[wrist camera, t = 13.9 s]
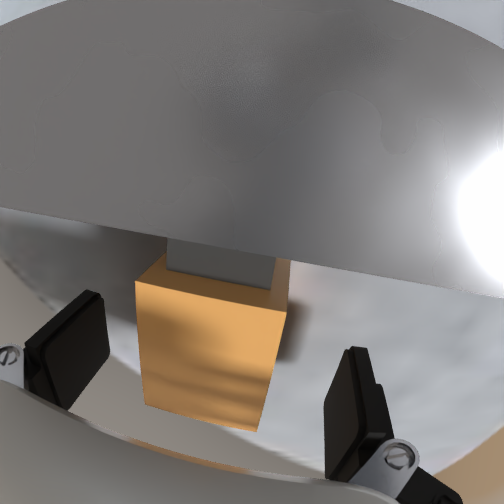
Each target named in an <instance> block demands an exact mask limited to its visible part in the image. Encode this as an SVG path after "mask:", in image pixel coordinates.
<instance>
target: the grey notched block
mask: <svg viewBox="0 0 504 504" xmlns="http://www.w3.org/2000/svg"><path fill="white" fill-rule="evenodd" d="M0 207H3V208H9V209H14V210H20V211H25V212H30V213H36V214H41V215H47V216H52V217H58V218H63V219H69V220H74V221H79V222H85V223H90V224H96V225H101V226H107V227H112V228H118V229H123V230H129V231H134V232H140V233H145V234H151V235H156V236H162V237H167V238H172V239H178V240H183V241H189V242H194V243H200V244H205V245H211V246H216V247H222V248H227V249H233V250H238V251H244V252H249V253H255V254H260V255H266V256H271V257H277V258H282V259H288V260H293V261H299V262H304V263H310V264H315V265H321V266H326V267H332V268H338V269H343V270H349V271H354V272H360V273H365V274H371V275H376V276H382V277H387V278H393V279H398V280H404V281H409V282H415V283H420V284H426V285H432V286H437V287H443V288H448V289H454V290H459V291H465V292H470V293H476V294H482V295H487V296H493V297H498V298H504V49H502V48H500V47H499V46H497V45H495V44H493V43H491V42H490V41H488V40H486V39H484V38H482V37H480V36H478V35H476V34H474V33H472V32H470V31H468V30H466V29H464V28H462V27H460V26H457V25H455V24H453V23H451V22H448V21H446V20H444V19H441V18H439V17H436V16H434V15H431V14H429V13H426V12H423V11H421V10H418V9H415V8H412V7H409V6H406V5H403V4H400V3H397V2H394V1H391V0H67V1H63V2H60V3H57V4H54V5H51V6H48V7H46V8H43V9H40V10H37V11H35V12H32V13H30V14H27V15H25V16H22V17H20V18H18V19H15V20H13V21H11V22H8V23H6V24H4V25H2V26H0Z"/></svg>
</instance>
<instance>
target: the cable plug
mask: <svg viewBox="0 0 504 504" xmlns="http://www.w3.org/2000/svg"><path fill="white" fill-rule="evenodd" d="M290 262H291V260H288V259H282V258H277V257H271V256H266V255H260V254H255V253H249V252H244V251H238V250H233V249H227V248H222V247H216V246H211V245H205V244H200V243H194V242H189V241H183V240H178V239H172V238H167V251H166V252H165V253H164V254H163V255H162V256H161V257H160V258H159V259H158V260H157V261H156V262H155V263H153V264H152V265H151V266H150V267H149V268H148V269H147V270H146V271H145V272H144V273H143V274H142V275H141V276H140V277H139V278H138V279H137V280H136V281H135V291H136V314H137V330H138V344H139V356H140V366H141V376H142V384H143V393H144V400H145V404H146V405H149V406H152V407H155V408H158V409H162V410H165V411H168V412H172V413H175V414H179V415H183V416H186V417H190V418H194V419H198V420H202V421H206V422H210V423H214V424H219V425H223V426H228V427H233V428H238V429H243V430H248V431H253V432H257V429H258V425H259V421H260V418H261V414H262V410H263V407H264V403H265V399H266V395H267V391H268V388H269V384H270V380H271V376H272V372H273V368H274V364H275V360H276V356H277V352H278V348H279V344H280V339H281V335H282V331H283V327H284V322H285V318H286V314H287V304H288V291H289V277H290Z"/></svg>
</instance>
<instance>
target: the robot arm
mask: <svg viewBox="0 0 504 504" xmlns="http://www.w3.org/2000/svg"><path fill="white" fill-rule="evenodd" d="M25 346H26V347H25V348H24V349H22V348H21V347H20V346H19V345H16V344H12V343H9V344H4V345H1V346H0V504H463V502H462V499H461V497H460V496H459V494H458V493H456V492H455V491H454V490H452V489H450V488H449V487H448V486H446V485H445V484H443V483H442V482H440V481H439V480H437V479H436V478H434V477H433V476H431V475H430V474H429V473H427V472H426V471H424V470H423V469H421V468H420V467H419V466H418V464H419V453H418V451H417V449H416V448H415V447H414V446H413V445H412V444H411V443H410V442H407V441H405V440H402V439H395V438H394V434H393V429H392V424H391V420H390V416H389V411H388V407H387V403H386V399H385V395H384V391H383V387H382V385H381V384H376V382H375V378H374V373H373V369H372V365H371V361H370V358H369V354H368V350H367V348H363V347H356V346H351V348H350V349H349V350H348V349H346V350H345V351H344V353H343V356H342V359H341V361H340V364H339V366H338V369H337V371H336V374H335V376H334V379H333V381H332V384H331V386H330V388H329V391H328V393H327V395H326V398H325V401H324V441H325V478H326V479H330V480H323V479H315V478H306V477H297V476H288V475H282V474H274V473H269V472H262V471H256V470H250V469H245V468H239V467H234V466H229V465H224V464H220V463H216V462H211V461H207V460H203V459H199V458H195V457H191V456H188V455H184V454H180V453H177V452H173V451H170V450H167V449H164V448H160V447H157V446H154V445H151V444H148V443H145V442H142V441H139V440H136V439H134V438H131V437H128V436H125V435H122V434H120V433H117V432H115V431H112V430H110V429H107V428H105V427H102V426H100V425H98V424H95V423H93V422H91V421H88V420H86V419H84V418H82V417H79V416H77V415H75V414H73V413H71V412H68V409H70V407H71V406H72V405H73V403H74V402H75V401H76V399H77V398H78V397H79V395H80V394H81V392H82V391H83V390H84V389H85V387H86V386H87V385H88V383H89V382H90V380H92V378H93V377H94V376H95V374H96V373H97V372H98V370H99V369H100V368H101V366H102V365H103V364H104V363H105V361H106V360H107V359H108V357H109V354H110V346H109V339H108V332H107V324H106V316H105V307H104V300H103V298H101V295H100V294H99V293H97V292H93V291H90V290H85V291H84V292H83V293H81V294H80V295H79V296H78V297H77V298H75V299H74V300H73V301H72V302H71V303H69V304H68V305H67V306H66V307H65V308H64V309H62V310H61V311H60V312H59V313H58V314H57V315H55V316H54V317H53V318H52V319H51V320H50V321H49V322H47V323H46V324H45V325H44V326H43V327H42V328H41V329H39V331H37V332H36V333H35V334H34V335H33V336H32V337H31V338H30V339H28V340H27V341H26V342H25Z"/></svg>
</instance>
